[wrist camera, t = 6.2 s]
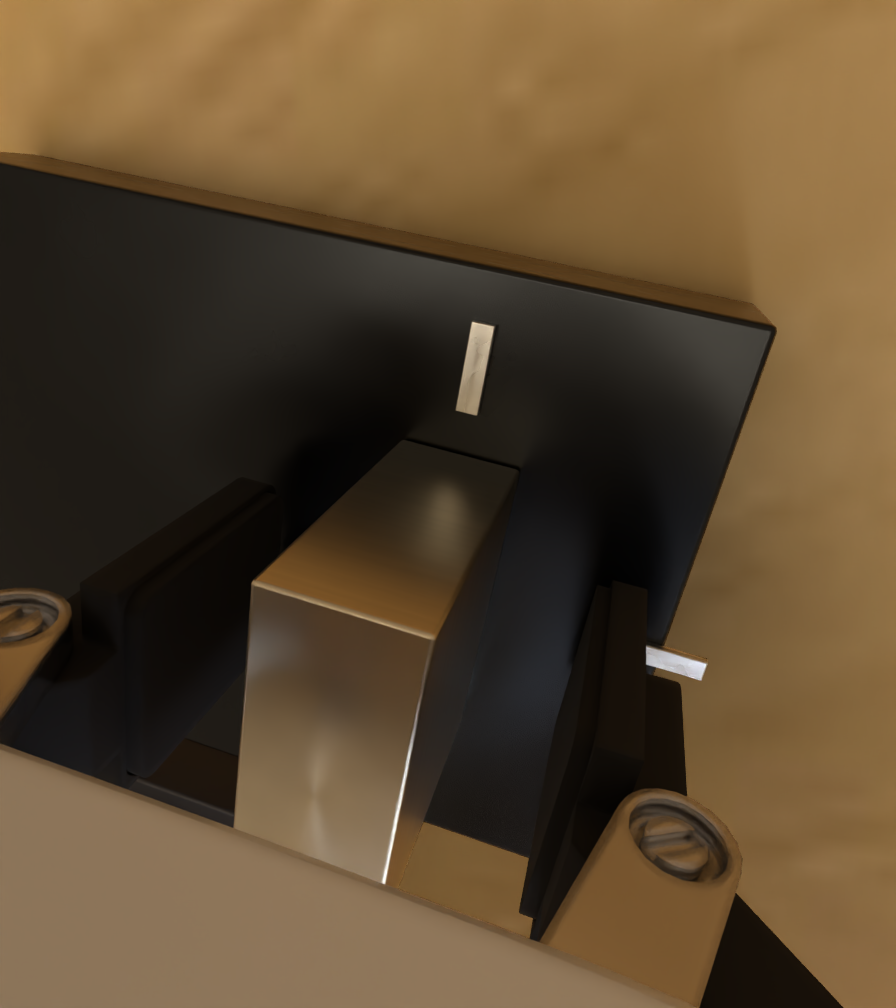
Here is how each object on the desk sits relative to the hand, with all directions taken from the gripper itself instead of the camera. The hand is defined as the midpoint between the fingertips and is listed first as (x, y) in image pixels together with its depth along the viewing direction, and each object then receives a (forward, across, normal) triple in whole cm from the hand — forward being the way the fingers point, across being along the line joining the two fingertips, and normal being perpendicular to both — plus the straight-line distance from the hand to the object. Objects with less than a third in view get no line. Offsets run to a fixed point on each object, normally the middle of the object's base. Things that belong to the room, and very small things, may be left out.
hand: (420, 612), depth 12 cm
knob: (+1, 0, 0) cm, 1 cm away
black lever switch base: (+3, +3, 0) cm, 5 cm away
